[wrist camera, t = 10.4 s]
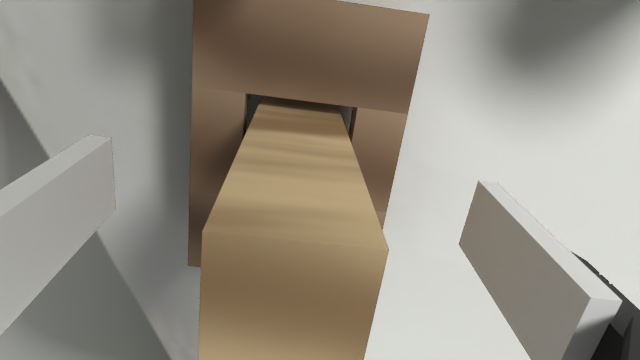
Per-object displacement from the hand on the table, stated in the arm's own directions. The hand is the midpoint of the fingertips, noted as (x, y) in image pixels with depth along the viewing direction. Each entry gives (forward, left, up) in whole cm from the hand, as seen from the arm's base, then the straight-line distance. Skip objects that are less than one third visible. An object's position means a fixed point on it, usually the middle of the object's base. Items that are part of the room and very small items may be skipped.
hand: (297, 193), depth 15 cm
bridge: (0, 0, -10) cm, 10 cm away
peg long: (0, 0, -10) cm, 10 cm away
